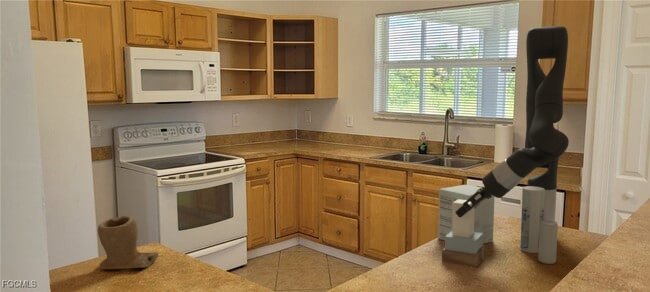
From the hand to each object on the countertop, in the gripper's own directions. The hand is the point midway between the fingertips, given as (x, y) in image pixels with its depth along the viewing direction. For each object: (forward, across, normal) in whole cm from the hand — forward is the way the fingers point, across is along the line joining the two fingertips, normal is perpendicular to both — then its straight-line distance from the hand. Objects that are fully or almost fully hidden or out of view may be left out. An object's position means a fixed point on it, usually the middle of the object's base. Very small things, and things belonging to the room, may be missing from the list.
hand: (463, 211), depth 152 cm
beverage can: (-5, -12, +26) cm, 29 cm away
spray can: (0, -20, +21) cm, 29 cm away
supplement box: (+15, -18, +6) cm, 24 cm away
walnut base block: (+10, 0, +11) cm, 15 cm away
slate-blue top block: (+7, 0, +8) cm, 11 cm away
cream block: (+5, 0, +5) cm, 7 cm away
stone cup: (+64, +64, -44) cm, 101 cm away
